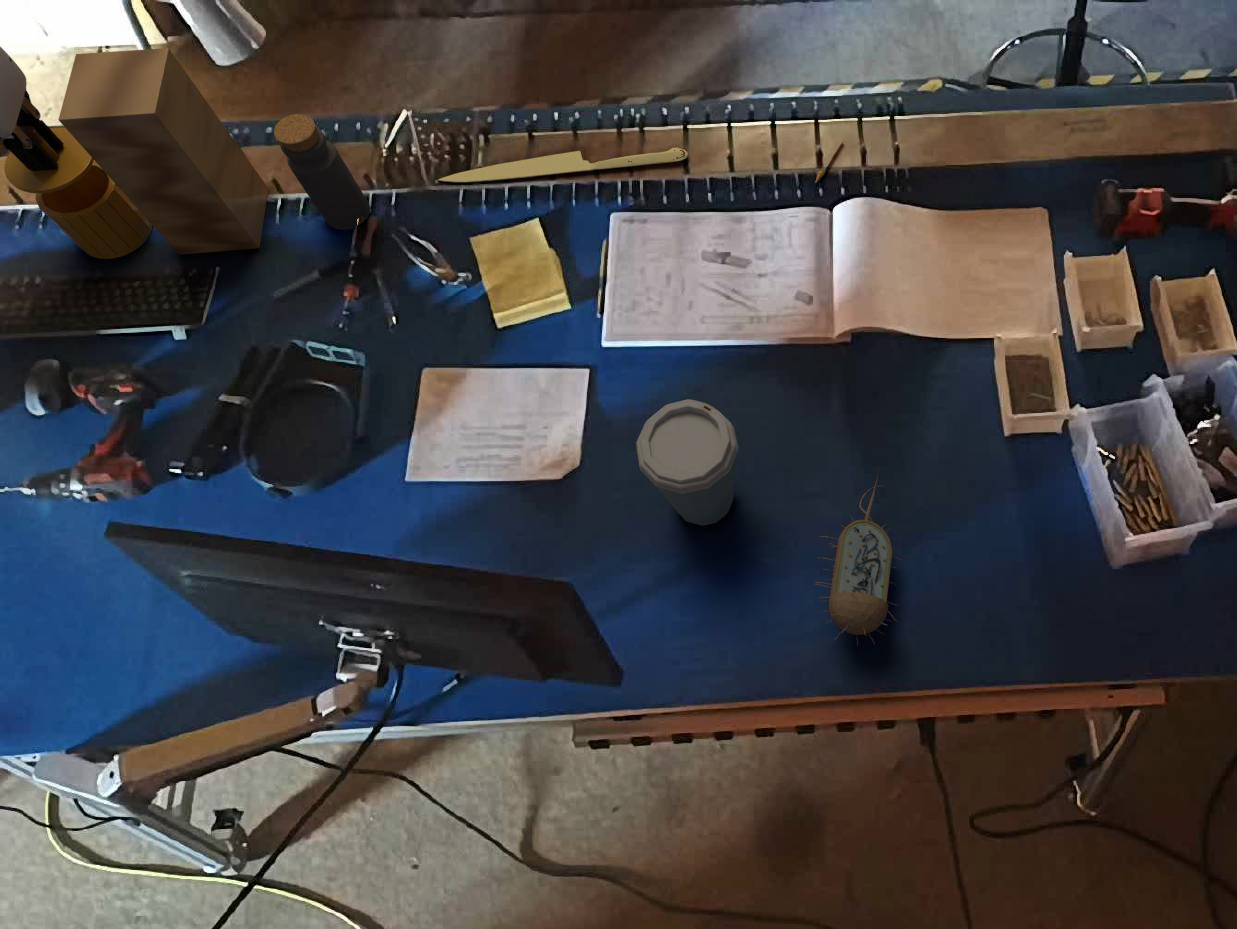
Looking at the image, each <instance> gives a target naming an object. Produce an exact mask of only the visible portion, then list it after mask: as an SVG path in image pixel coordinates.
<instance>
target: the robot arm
mask: <svg viewBox="0 0 1237 929" xmlns="http://www.w3.org/2000/svg"><path fill="white" fill-rule="evenodd" d="M27 85H28V84H27V77H26V74H25V73H24V72H23V70H22V69H21V67H20V66H19V65H18V64H17V63H16V61H15V60H14V59H13V58H12V57H11V56H10V54H8V52H6V50H5V49H4V48H3V47H2V46H0V158H3V157H4V156H5V155H7V154H9V153H10V152H12V153H13V154H14V155H15V156H16V157H17V158H18V159H19V160H20V161H21V162H22V163H23V164H24V165H25V166H26V167H27V168H28V169H29V170H31V171H40V170H53V169H57V168H58V163H57V162H56V161H55V160H54V159H53V158H52V157H51V156H50V154H49V153H48V152H47V151H46V150H45V149H44V148H43V147H42V146H41V145H40V144H39V143H38V142H37V141H31V140H30V139H29V138H28V137H27V136H26V135H25V133H24V132H23V131H22V130H21V129H20V128H19V126H22V125H31V126H33V127H34V128H35V129H36V130H37V131H38V132H39V133H40V134H41V135H42V136H43V137H44V138H45V139H46V141H47V142H48V143H49V144H50V145H51V146H52V147H53V148H54V149H61V148H63V145H64V143H63V142H62V141H61V140H60V139H59V138H58V137H57V136H56V135H55V134H54V132H53V131H52V130H51V129H52V128H50V127H49V125H47V123H46V122H45V121H43V119H41V112H40V110H39V109H38V108H37V107H36V106H35V105H34V104H33V103H32V100H31V97H30V93H29V92H28V91H27ZM11 136H12V137H11ZM13 137H14V138H13Z"/></svg>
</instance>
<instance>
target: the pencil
mask: <svg viewBox="0 0 1237 929" xmlns="http://www.w3.org/2000/svg"><path fill="white" fill-rule="evenodd" d="M825 173H826V171H820V170H819V171H818V172H817V175H816V179H815V182H814V183H815V184H817V182H819V180H821V178H822V177H823V176H824V175H825Z"/></svg>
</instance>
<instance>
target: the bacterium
mask: <svg viewBox="0 0 1237 929" xmlns="http://www.w3.org/2000/svg"><path fill="white" fill-rule="evenodd" d="M877 471H878V472H877V476H876V480H875V483H874V486H873V487H871V488H869V489H868V490H867V491H865V493H864V494H863V495H862V497H861V499H860V501H859V504H858V507H859V510H860V511H861V512H862V513H863V515H865V517H864V519H858V520H854V518H853V516H850V518H851V520H852V522H850V523H849V524H848V525H847V526H846V527H845V526H843V525H842V524H839V526H840V527H843V528H844V529H843V530H842V532H841V533H840V535H839V537H838V538H836V537H832V536H827V535H826V536H825V535H820V536H818V537H819V538H829V539H834V540H837V545H835V544H834V543H831V542H828V544H830V545H831V546H829V547H828V549H830V548H836V554H835V559H832V558H828V557H823V559H825V560H830V561H833V562H834V565H833V573H832V578H830V579H829V578H828V579H827V578H825V579H824V580H825V581H831V583H828V582H822V581H815V585H816V586H822V587H825V588H829V589H830V593H829V596H820V597H819V596H818V599H820V601H822V602H824V603H826V602H828V609H829V610H822V612H823V613H824V612H825V613H826V612H827V613H828V612H829V614H830V615H829V616H830V617H831V619H830V620H828V621H826V622H825V624H827V623H830V622H834V623H835V625H836V626H837V627H838V630H840V631H839V633H837V634H838V635H837V636H836V637H835V638H834V639H833V641H835V640H836V639H837V638H838V637H839V636H840V634H844V632H845V633H847V634H851V635H855V636H860V635H862V636H863V635H864V636H867V634H868V636H869V638H870V639H871V641H872V642H873V645H876V644H875V641H874V639H873V638H872V636H871V635H870V634H871V633H873V632H874V631H877V632H878V633H880V634H883V635H884V633H883V632H881V631H880V630H879V629H878V628H879V627H880V626H881V625H884V626H887V624H886V623H884V621H885V620H886V621H889V622H890V623H892V621H891V619H887V618H886V617H887V615H888V614H889V615H891V617H892V619H893V620H894V621H896V622H897V623H899V621H898V620H896V619H895V617H894V616H893V615H892V613H891V612H890V611H889V604H891V605H894V606H897V604H895V603H892V602H891V601H889V600H888V593H889V584H893V585H895V583H894V582H891V581H890V578H891V577H890V575H891V568H893V569H896V566H893V565H892V559H893V558H894V559H897V560H899V561H900V560H901V561H903V559H901V558H899V557H896V556H894V555H893V547H892V543H891V539H890V537H889V535H888V534H887V533H888V530H890V529H891V527H889V528H888V530H886V531H885V530H884V529H883V528H884V527H885V526H886V524H884V525H882V526H880V525H879V524H878V523H876V522H874V521H873V517H872V516H870V513H871V509H872V506H873V502H874V499H875V498H874V497H875V493H876V490H877V488H878V487H883V486H884V485H877V484H878V480H879V475H880V471H881V467H879V468H878V470H877ZM872 489H873V490H872ZM871 490H872V494H871V498H870V501H869V504H868V506H867V510H865V509H864V508H863V507H862V504H863V500H864V498H865V497H866V495H867V494H868V492H870V491H871ZM818 559H822V557H818ZM821 569H822V570H825V571H828V569H826V568H824V567H823V568H822V567H821ZM827 585H829V586H827ZM824 598H825V599H828V600H822V599H824ZM855 640H856V647H858V646H859V640H858V637H856V639H855Z"/></svg>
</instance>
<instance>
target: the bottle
mask: <svg viewBox="0 0 1237 929" xmlns="http://www.w3.org/2000/svg"><path fill="white" fill-rule="evenodd" d="M273 135H274V137H275V139H276V141H278V142H279V148H280V150H281V151H282V153H283V154H284V156H286V161H287V164H288V167H289V169H290V170H291V172H292V173H293V175H294V176H295V178H296V179H297V181H298V182H299V184H300V185H301V187H302V188H303V190H304V191H305V193H306V194H307V196H308V197H309V199H310V200H311V202H312V203H313V205H314V206H315V208H316V209H317V211H318V213H319V214H320V215H321V216H322V218H323V220H324V221H325V222H326V224H327V225H328V226H329V227H331V228H333V229H335V230H339V231H349V230H353V229H356V228H357V227H356V226H357V219H358V218H359V217H362V216H363V217H368V218H369V217H370V214H371V205H370V203H369V201H368V200H367V198H366V196H365V195H364V193H363V191H362V190H361V188H360V186H359V185H358V183H357V181H356V180H355V177H354V176H353V174H352V172H351V171H350V169H349V168H348V166H347V164H346V162H345V161H344V158H342V156H341V154H340V152H339V151H338V150H337V148H336V146H335V145H334V144H333V143H332V142H331V141H329V140H327V138H326V135H325V134H324V133H323V131H322V129H320V127H318V126H316V123H315V120H313V118H312V117H310V116H308V115H306V114H302V113H296V114H295V113H294V114H290V115H287V116H285V117H283V118H281V119H280V120H279V121H278V122H277V123H276V124H275V126H274V129H273Z"/></svg>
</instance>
